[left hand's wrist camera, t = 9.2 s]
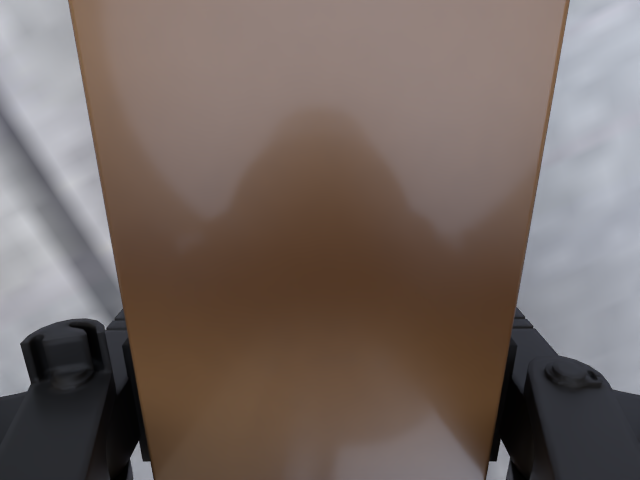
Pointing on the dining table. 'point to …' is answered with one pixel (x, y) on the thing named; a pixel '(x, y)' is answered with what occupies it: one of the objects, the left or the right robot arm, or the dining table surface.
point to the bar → (319, 223)
